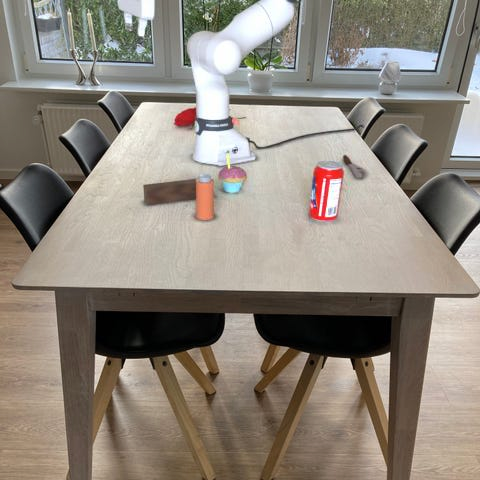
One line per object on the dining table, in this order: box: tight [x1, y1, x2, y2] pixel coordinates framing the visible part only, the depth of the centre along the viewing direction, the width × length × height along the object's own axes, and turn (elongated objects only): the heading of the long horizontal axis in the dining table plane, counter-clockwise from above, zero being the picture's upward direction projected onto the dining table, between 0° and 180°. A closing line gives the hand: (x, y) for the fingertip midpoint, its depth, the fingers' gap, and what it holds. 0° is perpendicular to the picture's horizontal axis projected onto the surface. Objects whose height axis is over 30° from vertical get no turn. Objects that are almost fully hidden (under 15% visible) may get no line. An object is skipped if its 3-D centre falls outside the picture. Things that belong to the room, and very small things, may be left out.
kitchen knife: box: [342, 154, 365, 179], centre depth 180 cm, size 21×2×5 cm
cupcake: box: [218, 153, 248, 194], centre depth 156 cm, size 9×8×12 cm
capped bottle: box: [195, 173, 215, 221], centre depth 139 cm, size 5×5×11 cm
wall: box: [142, 178, 197, 206], centre depth 150 cm, size 20×3×5 cm, turn 114°
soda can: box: [308, 160, 345, 223], centre depth 140 cm, size 8×8×15 cm
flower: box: [173, 106, 247, 130], centre depth 215 cm, size 9×10×30 cm
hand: (134, 33), depth 152 cm, fingers open, 8 cm apart
